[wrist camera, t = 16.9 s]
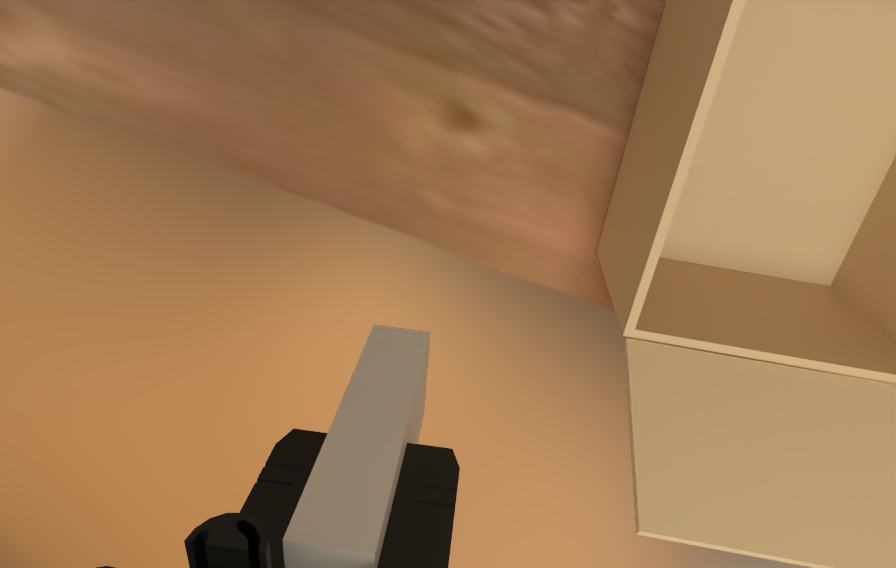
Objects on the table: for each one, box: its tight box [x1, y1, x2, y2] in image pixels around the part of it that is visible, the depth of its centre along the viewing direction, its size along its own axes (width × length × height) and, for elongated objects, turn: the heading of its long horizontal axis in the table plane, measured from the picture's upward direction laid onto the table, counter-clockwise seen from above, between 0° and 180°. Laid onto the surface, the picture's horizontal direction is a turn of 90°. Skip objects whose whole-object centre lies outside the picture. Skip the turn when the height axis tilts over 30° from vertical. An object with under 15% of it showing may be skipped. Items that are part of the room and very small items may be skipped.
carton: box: [596, 0, 896, 383], centre depth 37 cm, size 24×20×14 cm
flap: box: [624, 338, 896, 568], centre depth 32 cm, size 12×20×1 cm
